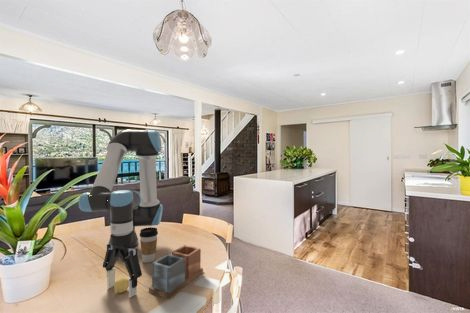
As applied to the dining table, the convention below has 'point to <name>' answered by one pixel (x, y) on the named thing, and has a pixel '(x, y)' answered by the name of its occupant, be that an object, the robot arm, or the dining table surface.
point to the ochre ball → (121, 284)
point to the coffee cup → (148, 243)
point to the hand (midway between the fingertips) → (121, 291)
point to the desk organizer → (175, 271)
